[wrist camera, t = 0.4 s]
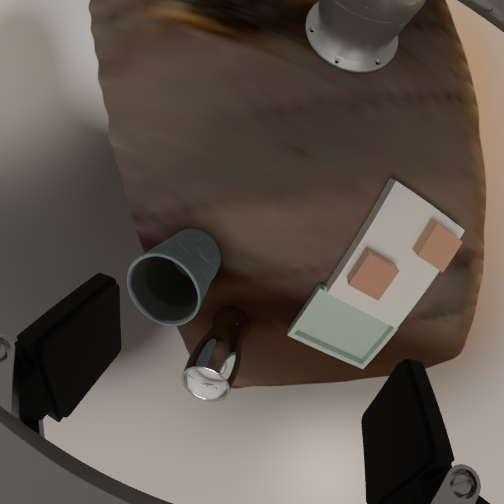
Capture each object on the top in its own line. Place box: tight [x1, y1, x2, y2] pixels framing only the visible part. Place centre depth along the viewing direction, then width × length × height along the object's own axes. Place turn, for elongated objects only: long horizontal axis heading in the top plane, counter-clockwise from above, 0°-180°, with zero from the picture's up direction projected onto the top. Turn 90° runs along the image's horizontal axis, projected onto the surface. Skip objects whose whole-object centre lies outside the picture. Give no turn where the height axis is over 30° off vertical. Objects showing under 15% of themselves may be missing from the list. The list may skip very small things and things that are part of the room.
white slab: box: [326, 178, 465, 328], centre depth 39 cm, size 18×13×3 cm
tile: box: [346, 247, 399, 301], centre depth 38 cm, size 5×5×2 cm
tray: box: [288, 282, 398, 369], centre depth 45 cm, size 10×15×2 cm, turn 65°
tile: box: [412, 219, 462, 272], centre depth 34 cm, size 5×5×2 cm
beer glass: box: [182, 307, 250, 401], centre depth 43 cm, size 7×7×15 cm
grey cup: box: [127, 228, 221, 326], centre depth 41 cm, size 10×10×12 cm
